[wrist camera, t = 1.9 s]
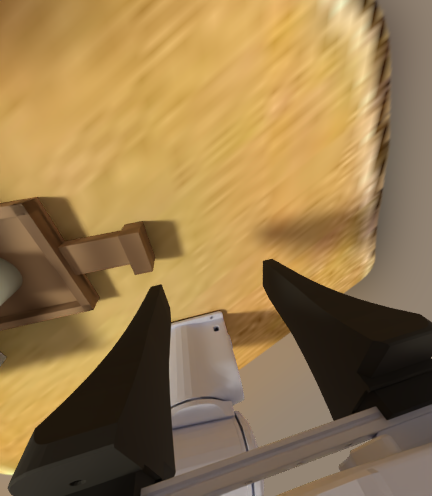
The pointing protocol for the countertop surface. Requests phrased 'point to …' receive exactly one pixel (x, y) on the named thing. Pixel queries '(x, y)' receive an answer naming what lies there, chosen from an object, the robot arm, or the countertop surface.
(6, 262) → the cream rounded block
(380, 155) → the countertop surface
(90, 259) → the tray
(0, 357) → the large grey box
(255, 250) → the countertop surface
